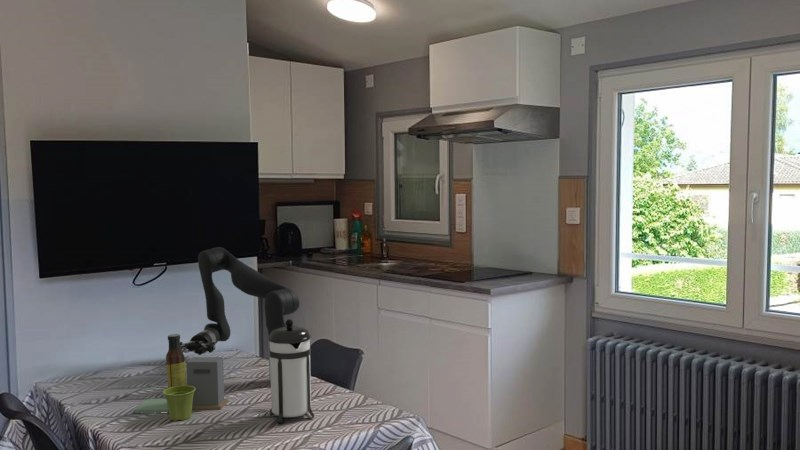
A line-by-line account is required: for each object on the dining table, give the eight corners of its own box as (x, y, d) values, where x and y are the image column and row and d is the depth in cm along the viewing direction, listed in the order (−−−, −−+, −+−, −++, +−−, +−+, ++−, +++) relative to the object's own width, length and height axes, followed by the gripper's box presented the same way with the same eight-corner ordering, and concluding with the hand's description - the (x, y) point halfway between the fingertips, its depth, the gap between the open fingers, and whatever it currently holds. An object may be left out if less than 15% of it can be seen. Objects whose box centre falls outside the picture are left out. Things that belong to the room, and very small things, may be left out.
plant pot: (178, 425, 200) (177, 396, 199) (157, 419, 205) (156, 391, 204) (203, 415, 208) (202, 388, 207) (182, 410, 213) (181, 383, 212)
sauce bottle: (190, 390, 234) (188, 333, 233) (179, 395, 228) (177, 337, 227) (175, 388, 236) (173, 332, 235) (163, 393, 230) (161, 336, 229)
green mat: (181, 401, 222) (181, 398, 222) (168, 413, 211) (168, 409, 211) (148, 401, 222) (148, 398, 222) (133, 413, 211) (133, 409, 211)
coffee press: (327, 410, 211) (325, 315, 209) (298, 427, 196) (296, 326, 194) (280, 403, 218) (278, 312, 216) (250, 419, 204) (247, 321, 202)
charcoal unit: (228, 401, 221) (227, 356, 220) (220, 409, 213) (219, 362, 212) (192, 401, 222) (190, 356, 221) (183, 409, 214) (181, 362, 213)
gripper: (184, 332, 259) (168, 342, 243) (221, 332, 258) (206, 342, 242) (185, 351, 259) (168, 362, 243) (221, 351, 259) (207, 362, 243)
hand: (187, 352), depth 243 cm, fingers open, 8 cm apart
